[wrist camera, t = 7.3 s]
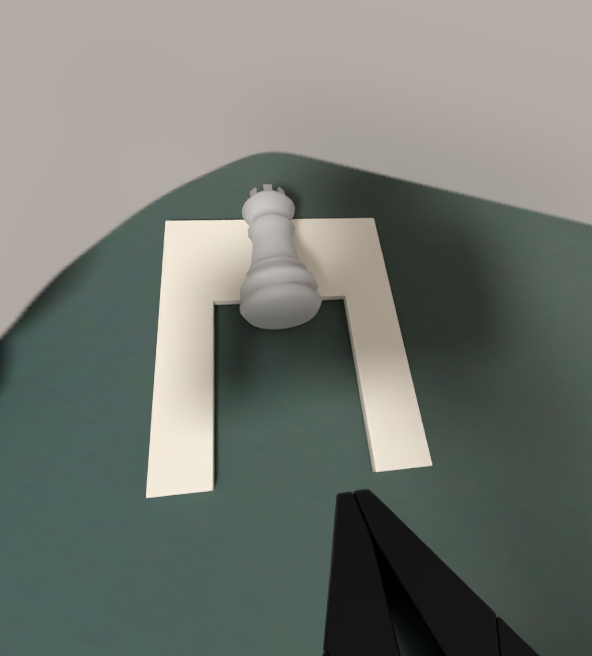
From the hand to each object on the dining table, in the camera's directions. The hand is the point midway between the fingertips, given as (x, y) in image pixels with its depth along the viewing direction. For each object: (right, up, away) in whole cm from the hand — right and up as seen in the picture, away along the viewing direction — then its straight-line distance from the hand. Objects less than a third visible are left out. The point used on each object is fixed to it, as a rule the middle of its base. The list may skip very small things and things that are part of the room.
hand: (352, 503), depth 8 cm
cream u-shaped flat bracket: (-2, +4, +11) cm, 12 cm away
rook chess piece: (-2, +5, +9) cm, 10 cm away
